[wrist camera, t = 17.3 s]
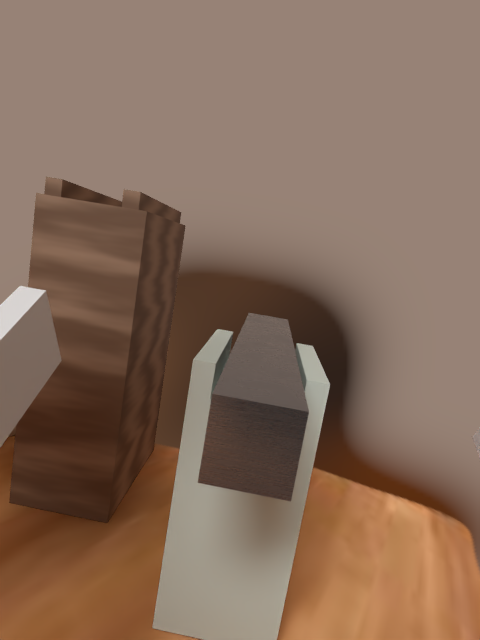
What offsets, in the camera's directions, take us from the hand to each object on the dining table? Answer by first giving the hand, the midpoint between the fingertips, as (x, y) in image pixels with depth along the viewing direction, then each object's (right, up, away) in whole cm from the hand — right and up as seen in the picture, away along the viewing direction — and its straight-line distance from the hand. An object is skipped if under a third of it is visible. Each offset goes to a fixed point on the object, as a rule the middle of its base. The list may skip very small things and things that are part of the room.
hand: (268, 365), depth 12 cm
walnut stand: (-18, -17, +37) cm, 44 cm away
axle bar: (0, -4, +18) cm, 19 cm away
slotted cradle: (-2, -21, +24) cm, 32 cm away
